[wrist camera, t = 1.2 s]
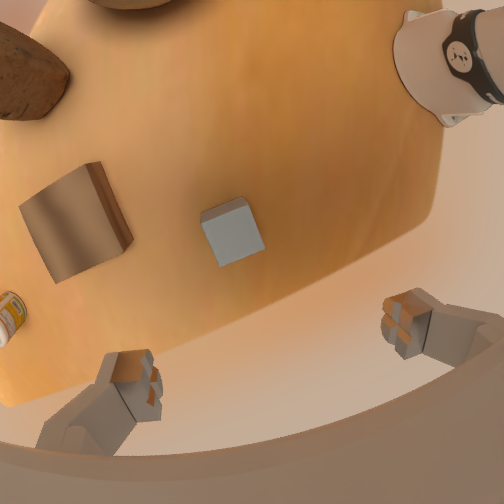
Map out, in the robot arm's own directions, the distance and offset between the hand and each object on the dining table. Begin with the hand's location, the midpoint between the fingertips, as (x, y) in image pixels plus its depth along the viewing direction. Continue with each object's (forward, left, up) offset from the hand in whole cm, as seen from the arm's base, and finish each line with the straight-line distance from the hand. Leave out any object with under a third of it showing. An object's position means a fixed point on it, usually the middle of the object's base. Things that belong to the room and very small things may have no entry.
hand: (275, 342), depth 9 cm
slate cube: (0, +3, -26) cm, 26 cm away
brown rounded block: (+15, -24, -26) cm, 39 cm away
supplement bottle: (+35, +1, -26) cm, 44 cm away
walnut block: (+16, -5, -26) cm, 31 cm away
